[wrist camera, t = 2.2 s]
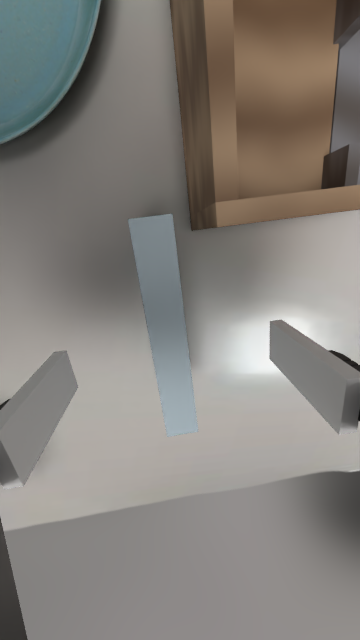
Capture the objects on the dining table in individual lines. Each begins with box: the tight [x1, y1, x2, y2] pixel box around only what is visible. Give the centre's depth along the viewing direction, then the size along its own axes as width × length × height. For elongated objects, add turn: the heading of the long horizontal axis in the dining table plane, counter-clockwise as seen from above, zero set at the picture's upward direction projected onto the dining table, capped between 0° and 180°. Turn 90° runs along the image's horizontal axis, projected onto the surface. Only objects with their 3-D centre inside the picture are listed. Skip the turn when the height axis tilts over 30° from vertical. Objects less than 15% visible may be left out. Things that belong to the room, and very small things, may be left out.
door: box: [128, 214, 198, 437], centre depth 20 cm, size 16×2×9 cm, turn 7°
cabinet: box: [170, 0, 360, 231], centre depth 15 cm, size 16×18×10 cm
